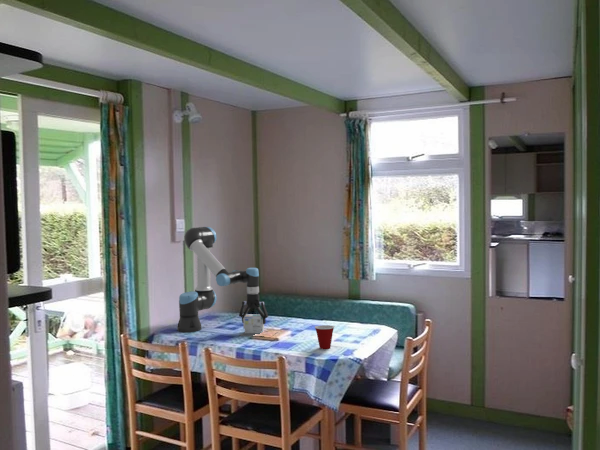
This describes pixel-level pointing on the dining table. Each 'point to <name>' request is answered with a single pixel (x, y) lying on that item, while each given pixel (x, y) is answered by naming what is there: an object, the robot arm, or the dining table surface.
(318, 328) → the plastic cup
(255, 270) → the robot arm
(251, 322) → the light bulb box
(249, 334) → the tile
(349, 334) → the dining table surface
